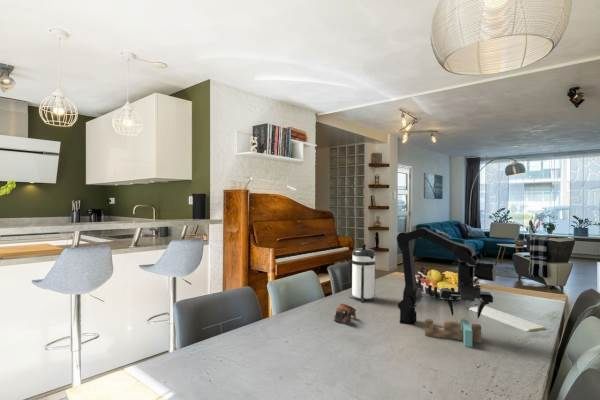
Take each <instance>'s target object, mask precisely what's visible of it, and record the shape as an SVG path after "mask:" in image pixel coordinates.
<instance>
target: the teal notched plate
mask: <svg viewBox="0 0 600 400" xmlns="http://www.w3.org/2000/svg"><path fill="white" fill-rule="evenodd" d="M460 323H461V330H462V331H463V340H462V342H463V345H465V346H464V347H466V348H473V342H472V325H471V324H470V322H469V319H468V318H464V317H460Z"/></svg>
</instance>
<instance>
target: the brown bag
mask: <svg viewBox="0 0 600 400" xmlns="http://www.w3.org/2000/svg"><path fill="white" fill-rule="evenodd" d="M335 310H336V311H335V315H334V317H333V321H335V322H337V323H340V324H344V322H345V323H349V322H350V320H351V317H353V321H355V320H356V318H357V314H356V311H357V309H355V307H352V306H351V305H349V304H345V303H340V305H339V306H337V308H336V309H335Z"/></svg>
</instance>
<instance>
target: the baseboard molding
mask: <svg viewBox="0 0 600 400" xmlns="http://www.w3.org/2000/svg"><path fill="white" fill-rule="evenodd" d="M467 309H469V311H471V310H472V312H474V313H476V312H477V309H478V303H475V304H474V305H472V306H470V308H469V307H466V310H467ZM481 314H482V316H484V317H486V318H490V319H492V320H495V321H498V322H500V323H503V324H505V325H508V326H510V327H513V328H516V329H518V330H521V331H523V332H533V331H534V332H535V331H541V330H545V329H546V326H543V325H541V324H538V323H535V322H532V321H529V320H527V319H526V320H525V319H524V318H521V317H518V316H515V315H512V314H509V313H507V312H504V311H500V310H497V309H495V308H492V307H489V306H486V305H485V306H484V308H483V309H482V312H481ZM481 314H480V315H481Z"/></svg>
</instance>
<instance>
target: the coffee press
mask: <svg viewBox="0 0 600 400" xmlns="http://www.w3.org/2000/svg"><path fill="white" fill-rule="evenodd" d="M366 247H367V245H366V243H362V244H361V247H358V248H355V249H353V251H352V253H351V255H352V258H350V259H349V261H348V267H347V269H348V271H347V276H348V277H347V278H348V283H349V284H350V286H351V292H350V293H351V294H350V295H349V299H352V298H357V299H360V303H364V300H368V299H373V300H375V301H377V300H378V297H377V296H376V255H377V254H376V252H375V250H374V249H372V248H369V247H368V248H366ZM351 295H352V296H351ZM375 298H376V299H375Z"/></svg>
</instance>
